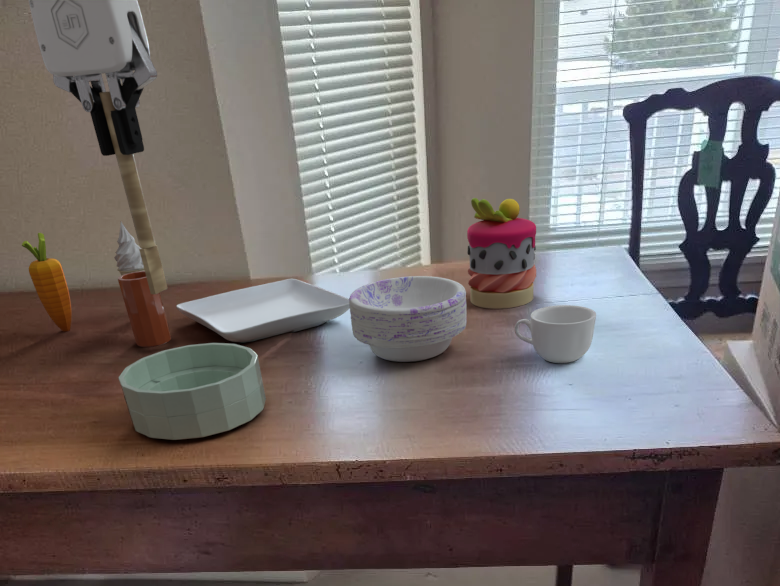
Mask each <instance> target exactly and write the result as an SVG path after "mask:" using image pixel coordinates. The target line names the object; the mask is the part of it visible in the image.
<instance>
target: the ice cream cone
mask: <svg viewBox="0 0 780 586" xmlns="http://www.w3.org/2000/svg"><path fill="white" fill-rule="evenodd" d="M116 242H117V244H118V247H117V249H116V251H115V256H114V260H115V261H116V267H117V271H118V272H119V274H120V276H122V275H124V274H128V273H132V272H138V271H145V270H144V266H143V262H142V258H141V254H140V251H139V249H141V248H140V247H139V244H137V243H136V239H135V237H134V236H132V234H130V232H129V231H128V230H127V228H126V227H125V225H124V223H123V221H120V223H119V235H118V238H117V241H116Z"/></svg>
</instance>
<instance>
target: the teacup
mask: <svg viewBox="0 0 780 586" xmlns="http://www.w3.org/2000/svg"><path fill="white" fill-rule="evenodd" d="M596 318H597V313H596V311H595V310H593V309H592V308H589V307H586V306H581V305H573V304H572V305H571V304H561V305H559V304H557V305H549V306H544V307H541V308H537V309H535V310H533V311H532V312H531V313H530V319H528V318H522V319H519V320H518V321H517V322H516V323H515V325H514V333H515V335H516V337H517V338H519V339H520V340H521V341H522V342H525V343H527V344H530V345H532V346H533V349H534V350H535V352H536V354H537V355H538V356H539V357H540V358H542V359H544V360H545V361H546V362H550V363H554V364H555V363H556V364H567V363H573V362H576V361H577V360H579V359H581V358H582V357H583V356H585V354H586V353H587V352H588V351H589V349H590V348H591V345H592V342H593V338H594V334H595V325H596V320H597V319H596ZM522 324H524V325H525V326H526V327H527V328H528V330H529V331H530V335H531V337H527V336H524V335H522V334H521V333H520V331H519V328H520V327H519V326H520V325H522Z"/></svg>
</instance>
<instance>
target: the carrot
mask: <svg viewBox="0 0 780 586" xmlns="http://www.w3.org/2000/svg"><path fill="white" fill-rule="evenodd" d="M37 239H38V246H33V245H32V244H31V243H30V242H29V241H28V240H24V241H23V242H22V243H21V247H23V248H25V249H26V250H28V251H29V252H30V253H31V254H32V255H33V256H34V258H35V260H33V261H31V263H30V264H29V266H28V273H29V276H30V278H31V282H32V284H33V286H34V289H35V292H36V293H37V296H38V299H39V301H40V302H41V304H42V306H43V308H44V309H45V311H46V313H47V315H48V316H49V318H50V319H51V320H52V322H53V323H54V324H55V325H56V327H58V328H59V329H60V330H61V332H69V331H70V330H71V326H72V313H73V310H72V302H71V296H70V290H69V286H68V283H67V279H66V275H65V273H64V268H63V266H62V264H61V262H60V260H58V259H56V258H54V257H53V258H52V257H51V258H50V257H49V258H48V257H47V246H46V245H47V244H46V238H45V234H44V233H42V232H38V233H37Z"/></svg>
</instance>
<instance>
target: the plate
mask: <svg viewBox="0 0 780 586" xmlns="http://www.w3.org/2000/svg"><path fill="white" fill-rule="evenodd" d="M175 307H176V310H177V311H179V312H180V313H181V314H182V315H184V316H185V317H187V318H188V319H190V320H191V321H194V322H197V323H198V324H200V325H202V326H203V327H206V328H207V329H209V330H211V331H213V332H215V333H216V334H218V335H219V336H221V338H223V339H224V340H227V341H229V342H233V343H251V342H255V341H258V340H263V339H267V338H270V337H274V336H278V335H281V334H286V333H289V332H291V333H296V332H299V331H303V330H307V329H311V328H314V327H318V326H321V325H323V324H325V323H326V322H329V321H332V320H334V319H336V318H339V317H340V316H342V315H343V314H346V312H348V311H350V307H349V298H348V297H345V296H344V295H341V294H338V293H336V292H333V291H330V290H328V289H326V288H322V287H319V286H317V285H315V284H312V283H309V282H305V281H304V280H300V279H296V278H286V279H282V280H277V281H273V282H272V281H271V282H267V283H265V284H264V283H263V284H259V285H253V286H248V287H244V288H239V289H234V290H231V291H227V292H223V293H222V292H221V293H218V294H214V295H209V296H206V297H201V298H198V299H193V300H190V301H185V302H181V303H178V304H176V306H175Z"/></svg>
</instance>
